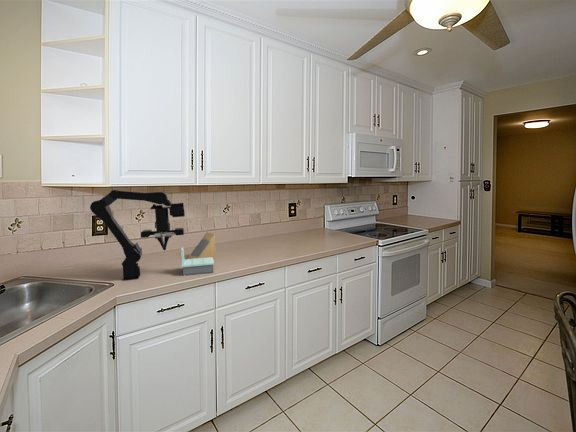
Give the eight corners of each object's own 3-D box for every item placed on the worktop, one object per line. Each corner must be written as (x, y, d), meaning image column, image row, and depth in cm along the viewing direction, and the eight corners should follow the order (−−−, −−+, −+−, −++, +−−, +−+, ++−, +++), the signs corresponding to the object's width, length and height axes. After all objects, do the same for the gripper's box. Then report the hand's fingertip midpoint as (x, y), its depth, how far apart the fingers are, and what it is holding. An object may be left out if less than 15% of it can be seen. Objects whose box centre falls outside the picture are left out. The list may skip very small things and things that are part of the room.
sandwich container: (183, 262, 163) (182, 235, 161) (207, 256, 174) (206, 232, 172) (191, 265, 157) (190, 238, 155) (216, 259, 168) (215, 233, 166)
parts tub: (183, 275, 140) (182, 267, 140) (183, 269, 150) (183, 261, 149) (213, 272, 144) (213, 264, 144) (212, 266, 154) (211, 259, 153)
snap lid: (181, 267, 139) (180, 251, 138) (182, 261, 149) (181, 246, 148) (214, 264, 144) (213, 248, 143) (212, 258, 154) (212, 244, 153)
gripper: (184, 214, 149) (186, 244, 151) (144, 216, 144) (146, 247, 147) (182, 217, 139) (184, 249, 141) (139, 220, 134) (142, 253, 136)
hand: (164, 250), depth 141 cm, fingers closed
